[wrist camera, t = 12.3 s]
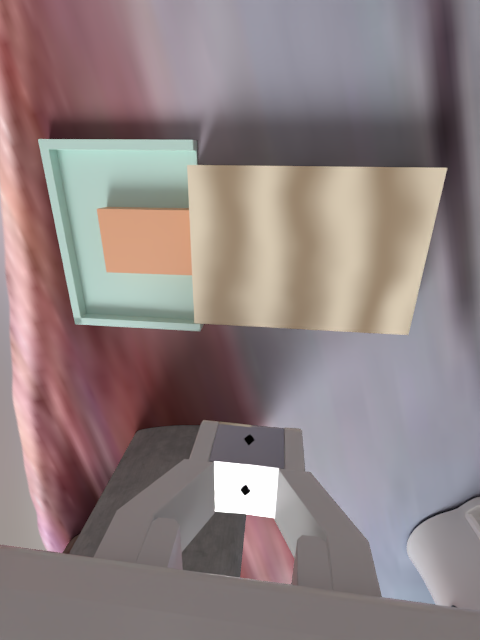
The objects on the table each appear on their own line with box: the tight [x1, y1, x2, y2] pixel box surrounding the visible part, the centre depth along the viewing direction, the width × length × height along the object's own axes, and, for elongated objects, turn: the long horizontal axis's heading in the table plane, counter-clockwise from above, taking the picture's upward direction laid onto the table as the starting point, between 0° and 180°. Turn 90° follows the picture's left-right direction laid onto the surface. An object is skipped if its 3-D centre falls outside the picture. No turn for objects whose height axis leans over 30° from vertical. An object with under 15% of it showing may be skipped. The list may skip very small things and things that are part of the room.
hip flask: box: [69, 425, 246, 578], centre depth 35 cm, size 16×4×20 cm, turn 96°
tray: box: [38, 139, 203, 331], centre depth 34 cm, size 14×18×2 cm
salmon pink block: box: [97, 207, 192, 275], centre depth 33 cm, size 9×6×2 cm, turn 90°
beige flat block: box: [187, 165, 447, 335], centre depth 31 cm, size 20×14×4 cm
